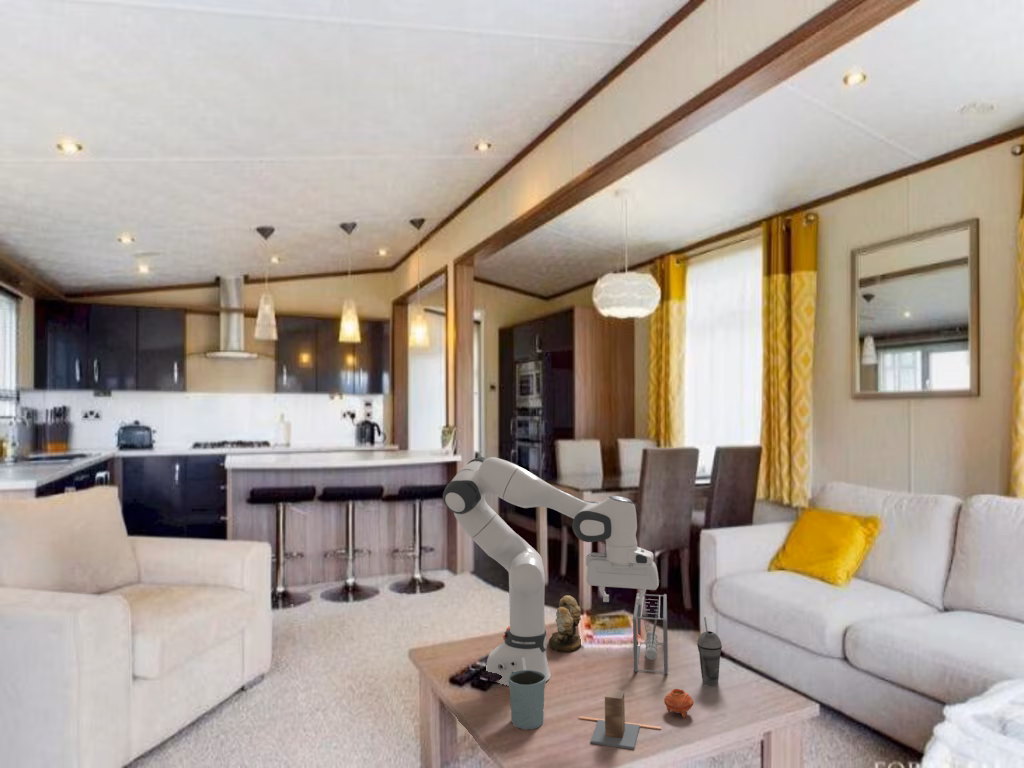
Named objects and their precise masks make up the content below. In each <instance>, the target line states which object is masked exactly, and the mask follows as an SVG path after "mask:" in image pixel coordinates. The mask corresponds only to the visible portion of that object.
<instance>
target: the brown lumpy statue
mask: <svg viewBox="0 0 1024 768" xmlns="http://www.w3.org/2000/svg"><path fill="white" fill-rule="evenodd" d="M558 606H559V607H558V608H557V610H556V615H555V617H556V618H555V623H556V627H557V629H556V631H555V632H552V635H551V637H549V638H548V639H549V640H548V646H549V647H550V648H551V649H552V651H556V652H558V653H573V652H576V651H578V650H579V649H580V648H582V645H581V639H582V638H581V639H580V637H581V636H580V635H579V634H578V633H577V627H578V626H579V624H580V621H581V620H582V618H581V613H582V610H581V609H582V608H581V607H580V605H578V602H577V600H576V598H574V597H573V596H571V595H564V596H562V598H560V600H559V605H558Z"/></svg>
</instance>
